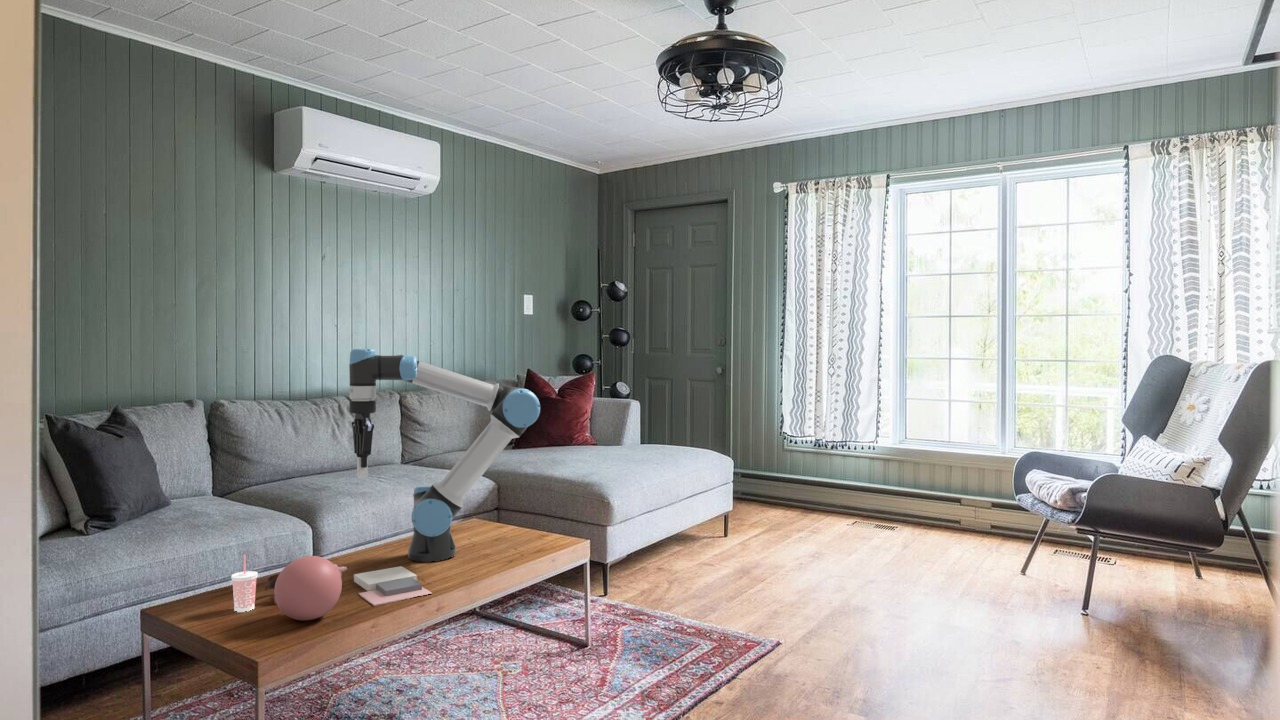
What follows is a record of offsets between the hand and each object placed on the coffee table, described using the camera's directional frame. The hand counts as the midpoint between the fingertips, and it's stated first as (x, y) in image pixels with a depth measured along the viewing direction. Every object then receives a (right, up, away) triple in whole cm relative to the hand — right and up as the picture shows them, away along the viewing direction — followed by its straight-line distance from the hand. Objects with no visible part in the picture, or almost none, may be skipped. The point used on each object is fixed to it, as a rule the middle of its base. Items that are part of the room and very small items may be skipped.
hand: (362, 478), depth 227 cm
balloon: (+2, -29, -38) cm, 48 cm away
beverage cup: (-18, -29, -33) cm, 48 cm away
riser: (+10, -29, -9) cm, 32 cm away
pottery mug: (-11, -29, -25) cm, 39 cm away
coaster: (+17, -28, -17) cm, 37 cm away
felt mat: (+17, -29, -21) cm, 39 cm away
